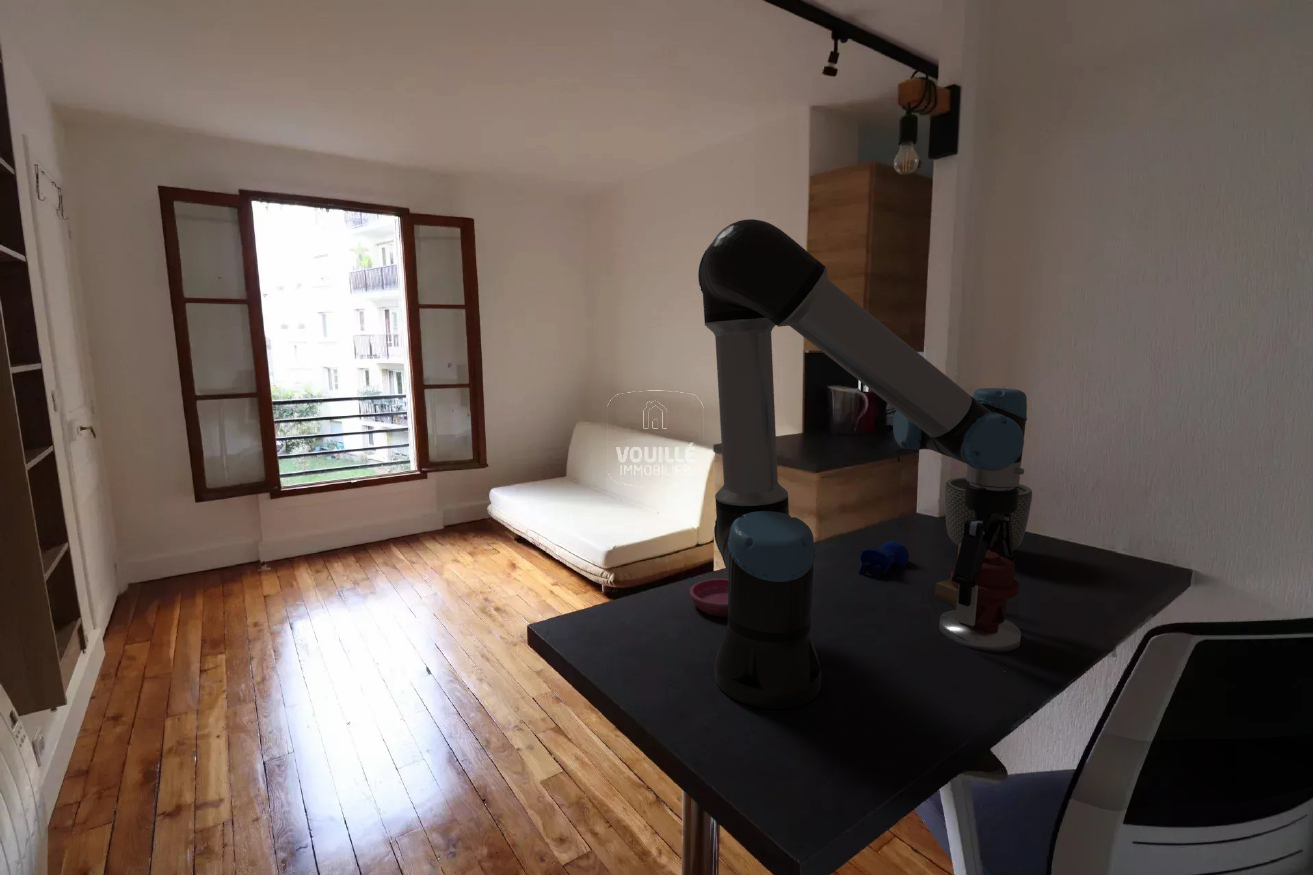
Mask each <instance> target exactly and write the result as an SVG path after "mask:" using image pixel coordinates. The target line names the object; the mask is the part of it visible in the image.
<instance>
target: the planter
mask: <svg viewBox="0 0 1313 875" xmlns="http://www.w3.org/2000/svg"><path fill="white" fill-rule="evenodd" d="M968 483H970V482H968V481H967V480H966V476H965V477H955V478H950V479H948V480H947V481H946V482H945V487H944V489H945V490H944V511H945V526H946V531H947V532H946V533H947V535H948V537H949V539H950V540H951V541H952V542H953V543H954V544H955V545H957V546H959V543H962V540H963V536H964V528H965V522H966V521H967V520H968V521H972V520H973V519H974V516H975V511H974V510H972V509H969V508H968V507H966V506H965V504H964V500H965V488H966V485H967V484H968ZM1015 488H1017V490H1018V491H1019V494H1018V505H1017V510H1016V511H1015V512H1014V513H1011V527H1012V539H1013V551H1014V550H1016V549H1018V548H1019V547H1020V545H1021V544H1022V541H1023V539H1024V536H1025V533H1026V530H1027V526H1028V521H1029V516H1030V511H1031V505H1032V499H1033V491H1032V488H1030V487H1029V486H1027V485H1024V484H1021V483H1019V485H1018V486H1016V487H1015ZM987 551H990V549H989V550H987Z"/></svg>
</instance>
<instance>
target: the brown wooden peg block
mask: <svg viewBox="0 0 1313 875" xmlns="http://www.w3.org/2000/svg"><path fill="white" fill-rule="evenodd" d="M957 546H958V545H957ZM960 547H961V543H959V546H958V550H957V556H958V555H959V551H960ZM957 559H958V557H957ZM957 559H956V560H957ZM957 592H958V589H957V588H955V587H954V586H953V585H952V584H951V582H950V578H948V579H945V580H942V581H938V582H936V583H935V590H934V598H935V599H936V600H939V601H941V602H944V603H946V604H947V605H951V606H953V607H955V608H956V604H957Z"/></svg>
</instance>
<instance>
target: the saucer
mask: <svg viewBox="0 0 1313 875" xmlns="http://www.w3.org/2000/svg"><path fill="white" fill-rule="evenodd" d="M689 598H690V599H691V600H692V602H693V603H694V605H695V606H697V608H698V609H699V610H700V611H701V612H702V613H705V614H707V615H710V616H715V617H722V618H728V578H711V579H710V578H708V579H706V580H701V581H698V582H696V583H694V584H693V585H692V586H691V587H690V589H689Z"/></svg>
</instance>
